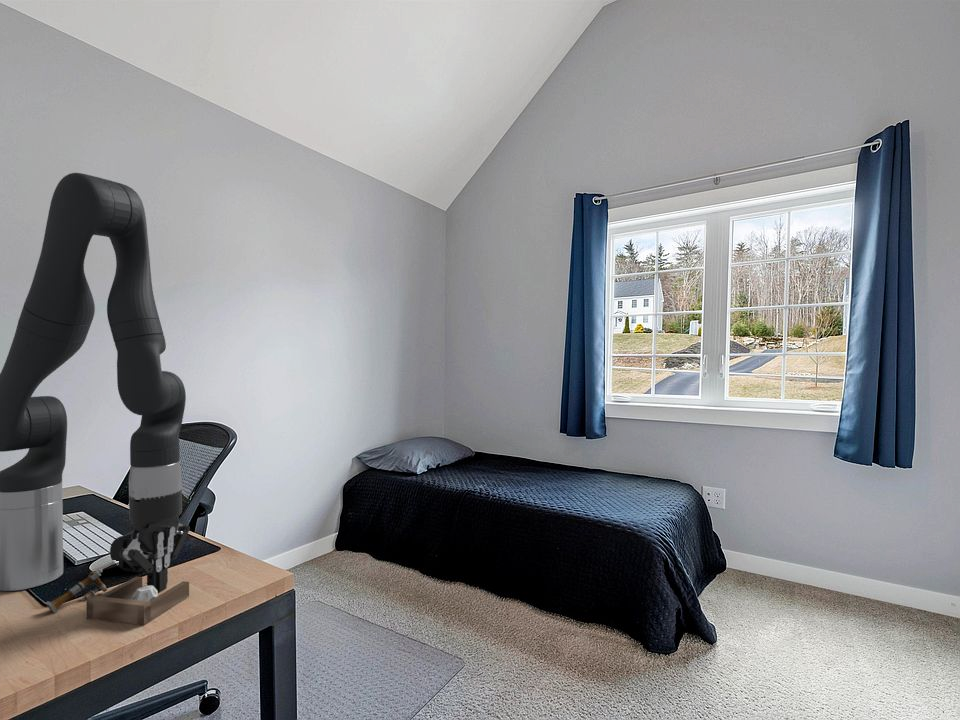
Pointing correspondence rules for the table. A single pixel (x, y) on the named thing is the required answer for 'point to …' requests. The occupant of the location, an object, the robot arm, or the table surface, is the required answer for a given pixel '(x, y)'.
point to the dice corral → (133, 603)
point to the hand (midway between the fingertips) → (157, 591)
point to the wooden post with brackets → (93, 576)
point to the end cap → (120, 544)
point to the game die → (145, 593)
